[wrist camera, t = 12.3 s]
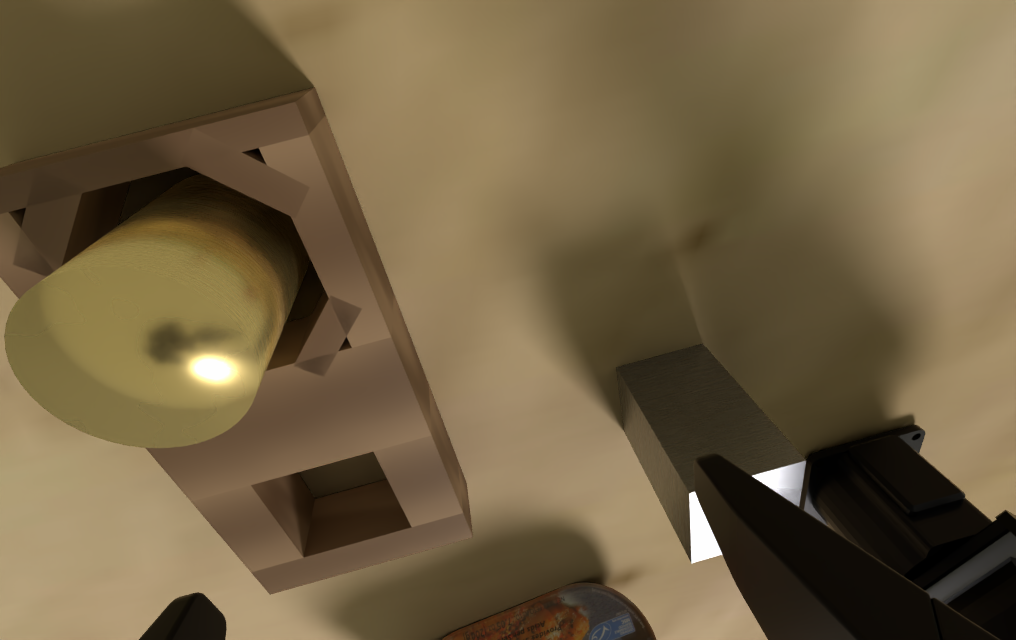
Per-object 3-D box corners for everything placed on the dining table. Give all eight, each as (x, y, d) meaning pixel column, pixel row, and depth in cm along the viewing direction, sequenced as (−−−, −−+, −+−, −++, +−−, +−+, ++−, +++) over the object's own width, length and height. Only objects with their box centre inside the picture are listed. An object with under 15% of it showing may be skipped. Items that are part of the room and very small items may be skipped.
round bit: (331, 287, 18) (294, 417, 12) (201, 322, 18) (100, 469, 12) (271, 155, 16) (188, 240, 10) (119, 195, 16) (-57, 303, 10)
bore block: (466, 483, 25) (472, 537, 22) (284, 534, 24) (270, 594, 22) (314, 87, 15) (295, 102, 13) (12, 163, 15) (-70, 195, 12)
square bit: (702, 409, 25) (794, 533, 19) (624, 431, 25) (691, 563, 19) (702, 343, 23) (806, 460, 17) (616, 367, 23) (689, 493, 17)
